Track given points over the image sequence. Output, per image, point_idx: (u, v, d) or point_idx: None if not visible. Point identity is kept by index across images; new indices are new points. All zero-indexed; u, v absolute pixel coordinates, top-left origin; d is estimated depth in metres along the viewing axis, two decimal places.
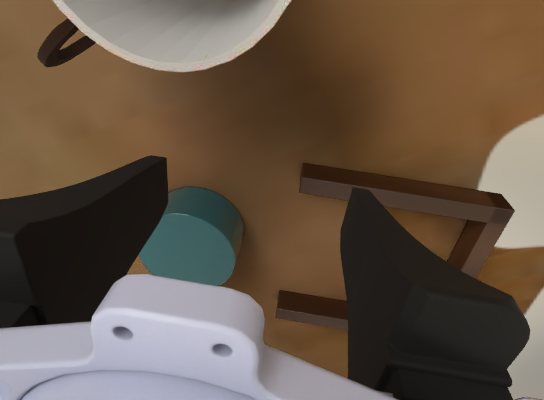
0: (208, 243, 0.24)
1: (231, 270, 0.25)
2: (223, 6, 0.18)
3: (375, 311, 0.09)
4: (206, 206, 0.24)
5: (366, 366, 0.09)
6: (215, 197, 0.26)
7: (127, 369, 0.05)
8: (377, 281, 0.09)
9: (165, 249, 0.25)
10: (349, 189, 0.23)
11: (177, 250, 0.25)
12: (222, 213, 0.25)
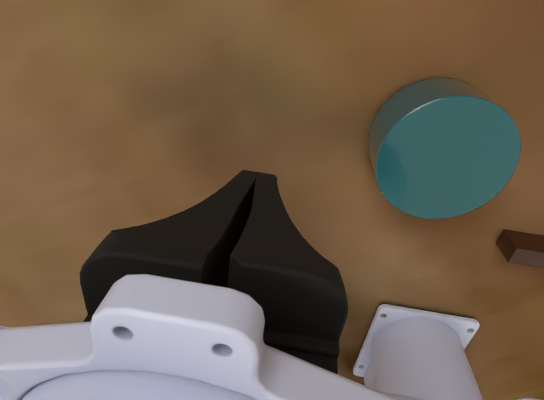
0: (488, 143, 0.18)
1: (503, 185, 0.19)
2: None
3: None
4: (482, 94, 0.18)
5: None
6: None
7: (127, 369, 0.05)
8: None
9: (419, 155, 0.19)
10: None
11: (436, 156, 0.18)
12: None
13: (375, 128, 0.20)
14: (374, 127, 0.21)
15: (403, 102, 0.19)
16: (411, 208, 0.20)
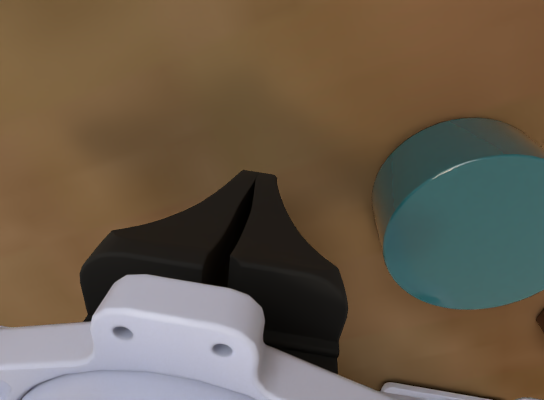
0: None
1: None
2: None
3: None
4: (539, 146, 0.12)
5: None
6: (526, 135, 0.14)
7: (127, 369, 0.05)
8: None
9: (446, 232, 0.13)
10: None
11: (470, 234, 0.13)
12: None
13: (382, 185, 0.15)
14: (381, 183, 0.15)
15: (423, 155, 0.13)
16: (432, 296, 0.15)
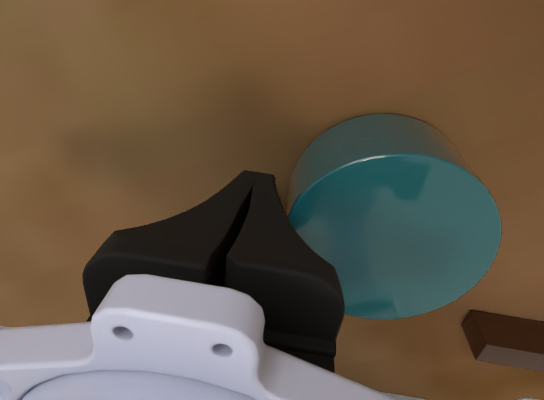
0: (451, 224, 0.11)
1: (476, 280, 0.12)
2: None
3: None
4: (442, 145, 0.11)
5: None
6: (437, 132, 0.13)
7: (127, 369, 0.05)
8: None
9: (346, 237, 0.12)
10: None
11: (371, 239, 0.12)
12: (466, 162, 0.12)
13: (290, 186, 0.14)
14: (291, 184, 0.14)
15: (323, 154, 0.12)
16: None
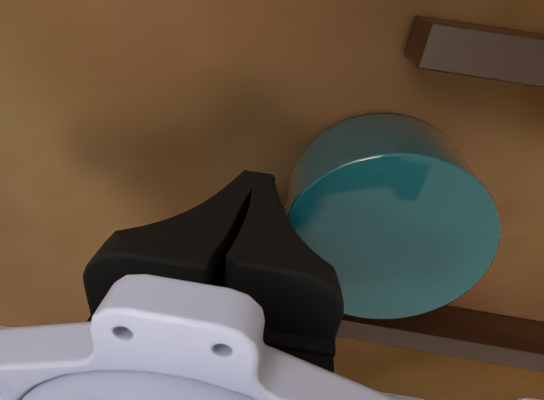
0: (450, 223, 0.11)
1: (474, 280, 0.12)
2: None
3: None
4: (441, 144, 0.11)
5: None
6: (436, 132, 0.13)
7: (127, 369, 0.05)
8: None
9: (345, 237, 0.12)
10: (541, 52, 0.10)
11: (370, 239, 0.12)
12: (465, 162, 0.12)
13: (290, 186, 0.14)
14: (290, 183, 0.14)
15: (322, 153, 0.12)
16: None
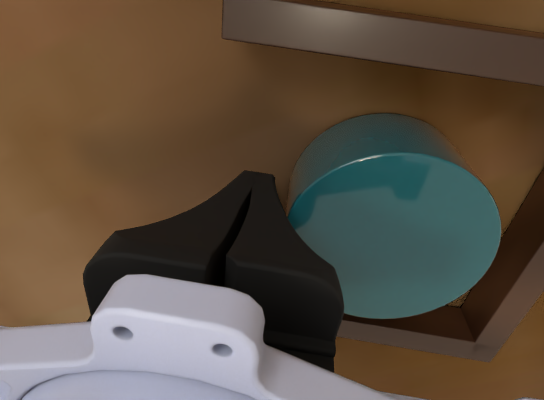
0: (451, 223, 0.11)
1: (475, 280, 0.12)
2: None
3: None
4: (441, 144, 0.11)
5: None
6: (437, 132, 0.13)
7: (127, 369, 0.05)
8: None
9: (346, 237, 0.12)
10: (332, 21, 0.10)
11: (371, 238, 0.12)
12: None
13: (290, 186, 0.14)
14: (290, 183, 0.14)
15: (323, 153, 0.12)
16: None
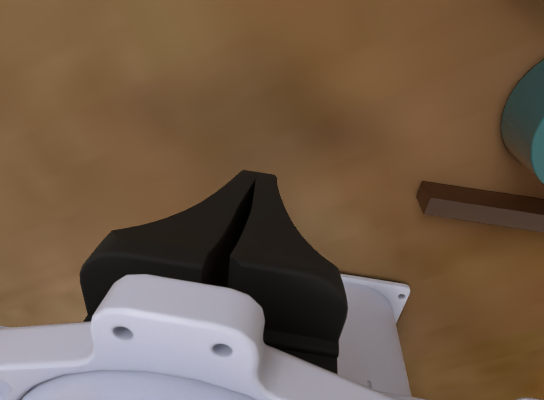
0: None
1: None
2: None
3: None
4: None
5: None
6: None
7: (127, 369, 0.05)
8: None
9: None
10: None
11: None
12: None
13: (523, 97, 0.18)
14: (520, 96, 0.18)
15: None
16: None
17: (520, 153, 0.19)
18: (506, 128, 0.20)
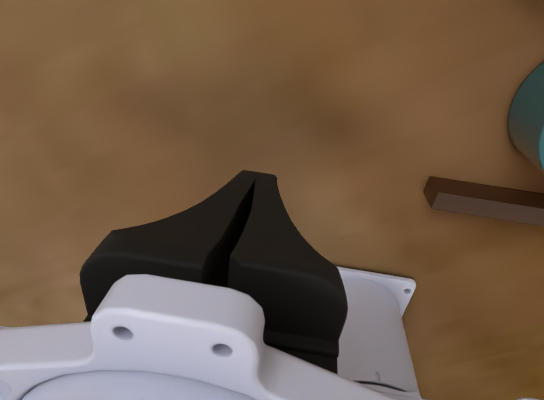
0: None
1: None
2: None
3: None
4: None
5: None
6: None
7: (127, 369, 0.05)
8: None
9: None
10: None
11: None
12: None
13: (531, 93, 0.18)
14: (527, 92, 0.19)
15: None
16: None
17: (527, 148, 0.19)
18: (513, 124, 0.20)
